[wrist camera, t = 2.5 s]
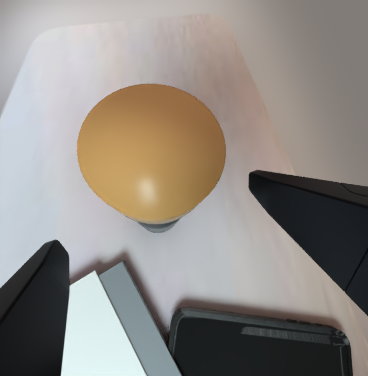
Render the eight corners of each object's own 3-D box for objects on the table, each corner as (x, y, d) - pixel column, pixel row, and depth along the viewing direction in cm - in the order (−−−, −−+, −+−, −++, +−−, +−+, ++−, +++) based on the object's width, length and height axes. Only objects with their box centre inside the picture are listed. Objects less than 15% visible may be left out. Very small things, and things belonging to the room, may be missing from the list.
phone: (358, 453, 14) (155, 439, 13) (344, 438, 15) (155, 423, 14) (349, 329, 16) (174, 307, 15) (337, 324, 17) (173, 302, 16)
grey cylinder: (186, 219, 18) (252, 170, 5) (150, 242, 17) (121, 249, 4) (166, 185, 18) (179, 66, 6) (129, 205, 17) (51, 115, 5)
